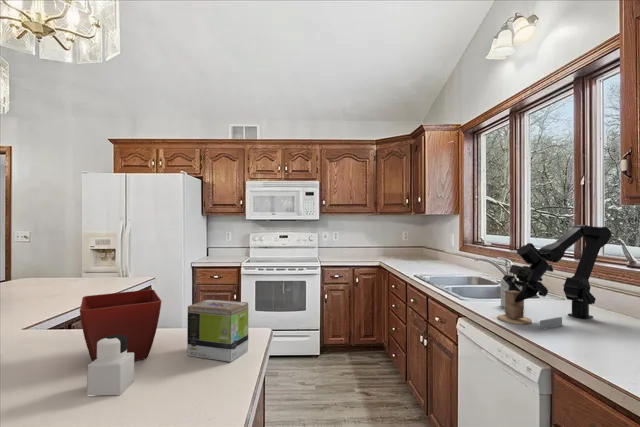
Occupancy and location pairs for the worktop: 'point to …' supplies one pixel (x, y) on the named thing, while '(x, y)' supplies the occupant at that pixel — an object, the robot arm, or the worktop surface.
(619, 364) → the worktop surface
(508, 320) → the cork coaster
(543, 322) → the divider wall
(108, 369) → the white stepped block
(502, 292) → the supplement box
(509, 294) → the walnut block
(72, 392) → the worktop surface
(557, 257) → the robot arm
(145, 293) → the plant pot
